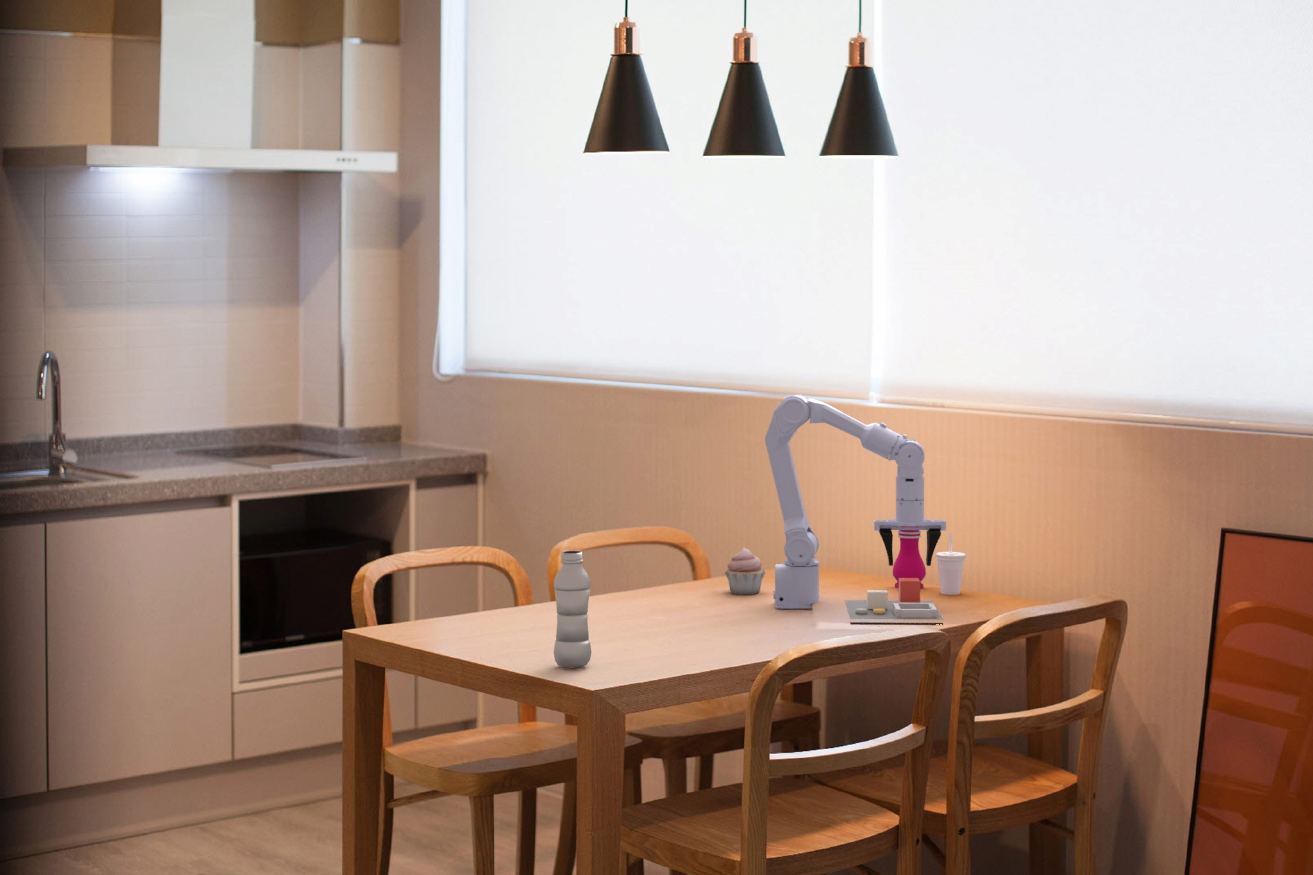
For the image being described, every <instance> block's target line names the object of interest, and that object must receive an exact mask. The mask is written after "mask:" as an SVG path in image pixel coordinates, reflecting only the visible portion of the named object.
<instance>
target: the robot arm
mask: <svg viewBox="0 0 1313 875" xmlns="http://www.w3.org/2000/svg"><path fill="white" fill-rule="evenodd" d="M808 421H809V424H821V423H822V424H827V425H829V426H832V427H833V428H836V429H837V430H840V431H841V432H842V431H843V432H844V433H847V434H850V435H851V436H854V437H855V438H858V439H859V440H860V443H861V446H862V448H863V449H866V450H867V451H869V452H872V453H874V454H876V455H878V456H880V457H882V458H883V459H886V460H888V461H895V463H896V465H897V466H896V468H897V470H896V471H897V474H896V475H897V476H896V477H895V518H894V519H874V520H873V530H874V531H878V533H879V535H880V537H881V540H882V541H883V545H884V548H885V551H886V555H887V561H888V566H889V567H890V566H891V567H893V566H894V556H893V539H894V538H893V537H894V535H893V531H899V530H919V531H926V558H925V564H926V565H925V566H927V567H931V566H932V561H933V560H932V559H933V555H934V551H935V549H936V546H937V545H938V542H939V539H940V538H941V536H942V532H941V531H943V532H944V531H945V532H946V531H947V521H946V520H944V519H925V477H924V470H925V469H924V465H923V464H924V462H925V458H926V457H925V456H926V454H925V450H924V447H923V445H921V443H920V442H917V440H916V439H914V438H913V439H912V438H911V439H908V437H909V436H908V435H907V434H905V433H904V434H902V435H901V434H900V433H898V432H896V431H894V430H892V429H890V428H888V427H887V426H888V424H886V423H884V422H881V423H877V422H872V423H870V424H865V423H863V422H862V421H859V420H858V419H856V418H854V417H852V416H850V415H848V414H846V413H844V412H842V411H841V410H839V409H837V408H835V407H833V406H831V405H830V404H828V403H826V402H823V401H820V400H817V399H815V398H809V397H807V396H806V395H805V394H804V395H803V394H799V393H798V394H797V393H795V394H793V395H792V394H791V395H790V396H787V397H785V398H783V400H781V401H780V402H779V404H778V405H777V406H776V408H775V409H774V410H773V414H772V417H771V420H770V422H769V424H768V428H767V430H766V434H765V436H764V441H765V442H764V443H765V445H766V450H767V455H768V458H769V463H770V467H771V472H772V475H773V480H774V484H775V489H776V492H777V496H778V497H777V498H778V501H779V506H780V509H781V515H782V519H783V525H784V526H783V527H784V529H783V530H784V535H785V543H784V544H785V545H784V548H783V550H784V556H785V557H786V558H785V560H784V561H783V563H776V564H775V565H774V590H773V600H774V607H775V608H774V609H778V610H779V609H780V610H781V609H784V610H785V609H786V610H787V609H790V610H791V609H792V610H795V609H796V610H798V609H800V610H801V609H802V610H803V609H805V610H806V609H807V610H809V609H810V610H811V609H814V607H813V604H816V603H818V602H820V560H818V559H817V558H816V556H815V555H816V553H817V552H818V550H819V547H820V542H819V537H817V535H816V534H815V533H814V532H813V530H812V527H811V523H810V521H809V519H808V516H807V513H806V509H805V504H804V500H803V496H802V492H801V488H800V484H799V480H798V476H797V471H796V467H795V462H794V458H793V454H792V450H791V446H790V442H791V440H792V438H793V437H794V435H795V434H796V433H797V431H798V429H799V428H800V427H802V426H803V425H805V423H807V422H808ZM901 526H919V527H901Z"/></svg>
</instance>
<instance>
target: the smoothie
mask: <svg viewBox="0 0 1313 875" xmlns="http://www.w3.org/2000/svg"><path fill="white" fill-rule="evenodd" d="M948 534H949V537H948V540H949V541H948V542H949V544H948V545H949V546H948V551H940V552H939V551H938V552H936V553H935V559H936V561H937V569H938V578H939V587H940V594H942V595H947V596H948V595H949V596H956V595H960V593H961V587H962V581H963V573H964V572H963V571H964V564H965V560H967V557H966V556H967V554H966V553H964V552H959V551H952V550H953V533H952V532H950V533H948Z"/></svg>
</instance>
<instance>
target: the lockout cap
mask: <svg viewBox="0 0 1313 875" xmlns="http://www.w3.org/2000/svg"><path fill="white" fill-rule="evenodd" d="M898 601H899V603H920V601H921V588H920V580H919V579H918V578H899V588H898Z"/></svg>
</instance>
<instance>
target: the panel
mask: <svg viewBox="0 0 1313 875" xmlns="http://www.w3.org/2000/svg"><path fill="white" fill-rule="evenodd" d="M844 602H845V606H846V608H847V612H848V615H849V619H851V620H863V619H864V620H944V618H943V616H942V615H941V613H940V611H939V610H938V608H937V607H936V605H935V604H934V602H933V600H920V603H899V600H888V609H881V608H876V609H868V608H867V599H866V600H860V599H859V600H855V599H854V600H853V599H851V600H847V599H845V600H844ZM849 624H850V625H853V626H854V625H858V626H860V625H863V626H864V625H865V626H874V625H875V626H884V625H885V626H937V625H936V624H939V625H938V626H944V623H943V622H887V621H886V622H885V621H884V622H880V621H879V622H878V621H877V622H876V621H875V622H874V621H873V622H871V621H868V622H866V621H865V622H863V621H856V622H855V621H853V622H851V621H849ZM940 624H942V625H940Z"/></svg>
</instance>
